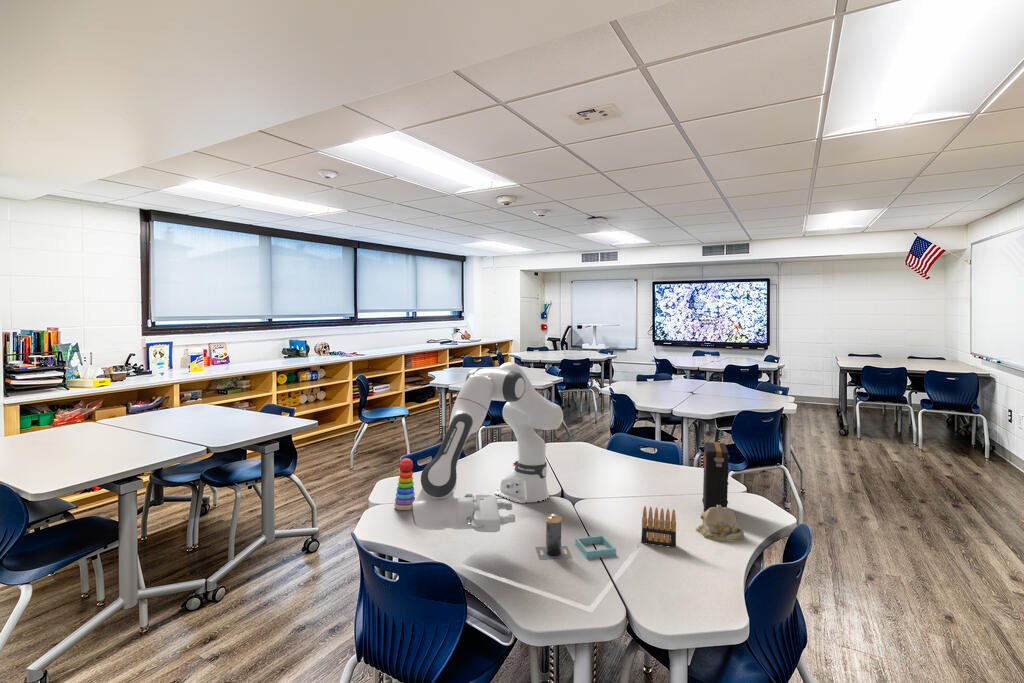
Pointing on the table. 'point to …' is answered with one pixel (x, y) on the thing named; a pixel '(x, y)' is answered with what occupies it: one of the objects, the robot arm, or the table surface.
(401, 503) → the stacking toy
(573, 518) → the table surface
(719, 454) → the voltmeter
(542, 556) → the checker cradle
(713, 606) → the table surface
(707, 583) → the table surface
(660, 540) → the ammunition clip
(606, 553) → the teal square frame
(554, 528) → the cell
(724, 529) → the ceramic model
